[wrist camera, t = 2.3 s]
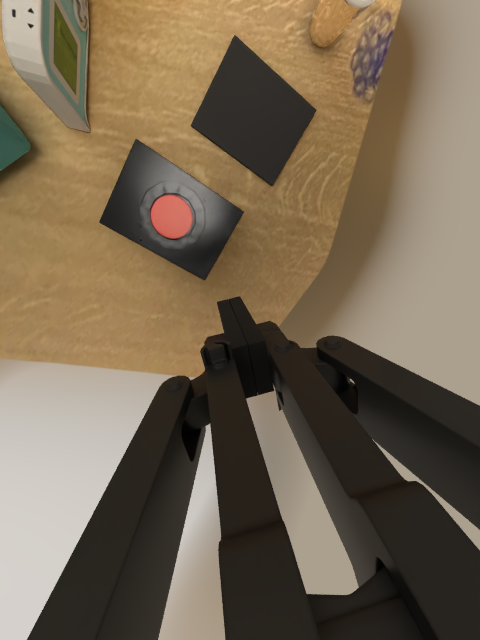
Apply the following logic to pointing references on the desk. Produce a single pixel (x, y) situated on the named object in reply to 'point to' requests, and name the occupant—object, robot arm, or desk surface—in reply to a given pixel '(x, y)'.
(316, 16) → the milkshake
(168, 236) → the button
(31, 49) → the handheld gaming console
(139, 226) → the button box
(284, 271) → the desk surface
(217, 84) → the mouse pad
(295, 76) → the desk surface
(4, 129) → the radio
